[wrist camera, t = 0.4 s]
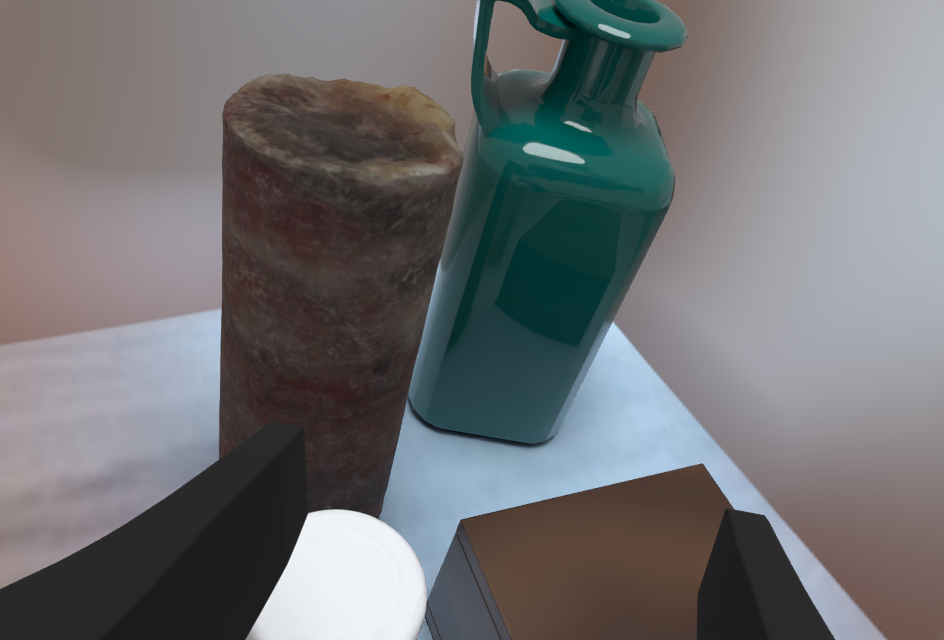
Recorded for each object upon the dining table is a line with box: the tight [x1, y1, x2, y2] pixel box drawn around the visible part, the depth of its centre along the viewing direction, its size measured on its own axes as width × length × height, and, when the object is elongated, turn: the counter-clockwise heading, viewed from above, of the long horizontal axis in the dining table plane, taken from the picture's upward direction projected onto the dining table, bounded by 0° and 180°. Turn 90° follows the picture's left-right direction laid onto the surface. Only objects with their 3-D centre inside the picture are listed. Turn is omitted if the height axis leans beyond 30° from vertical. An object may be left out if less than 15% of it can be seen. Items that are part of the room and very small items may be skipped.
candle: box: [219, 74, 464, 519], centre depth 29 cm, size 8×7×20 cm
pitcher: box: [408, 0, 688, 444], centre depth 37 cm, size 10×8×22 cm
